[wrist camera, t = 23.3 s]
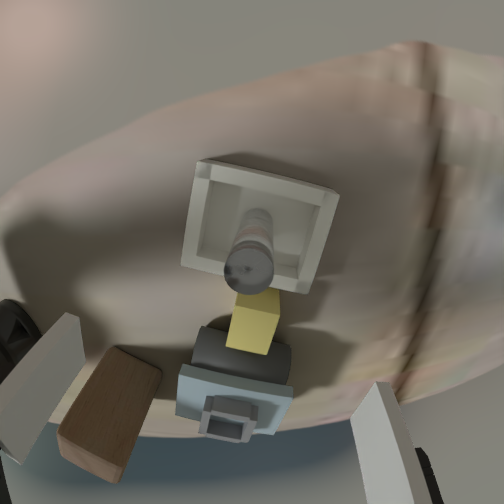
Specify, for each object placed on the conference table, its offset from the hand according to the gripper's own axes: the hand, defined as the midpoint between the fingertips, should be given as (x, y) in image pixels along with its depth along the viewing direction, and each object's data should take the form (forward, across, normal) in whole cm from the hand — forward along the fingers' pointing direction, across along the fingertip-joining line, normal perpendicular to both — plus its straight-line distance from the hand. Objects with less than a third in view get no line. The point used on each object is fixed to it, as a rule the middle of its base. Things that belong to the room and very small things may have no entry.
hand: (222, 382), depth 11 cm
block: (+25, -14, -31) cm, 42 cm away
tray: (+24, +1, 0) cm, 24 cm away
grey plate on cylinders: (+24, +3, -22) cm, 33 cm away
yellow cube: (+25, +3, -11) cm, 27 cm away
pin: (+24, +1, 0) cm, 24 cm away
